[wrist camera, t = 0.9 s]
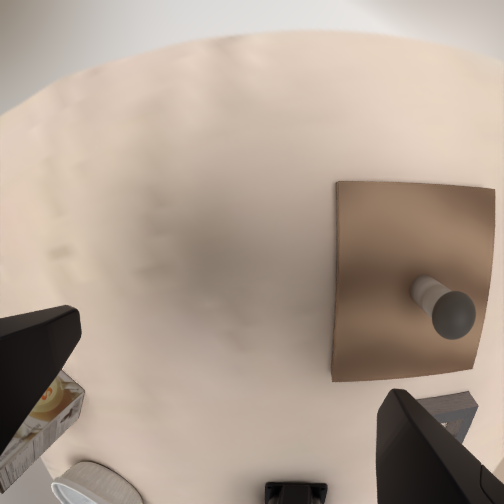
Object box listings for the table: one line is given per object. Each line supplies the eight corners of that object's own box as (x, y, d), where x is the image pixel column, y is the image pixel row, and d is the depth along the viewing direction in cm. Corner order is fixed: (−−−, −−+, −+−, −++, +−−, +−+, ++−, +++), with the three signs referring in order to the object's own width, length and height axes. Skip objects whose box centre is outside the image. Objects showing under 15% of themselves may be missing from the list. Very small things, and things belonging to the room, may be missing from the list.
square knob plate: (465, 360, 20) (507, 412, 12) (331, 371, 22) (337, 440, 14) (484, 189, 18) (550, 188, 10) (336, 182, 20) (354, 171, 12)
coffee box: (29, 373, 29) (-54, 429, 14) (32, 340, 28) (-67, 397, 12) (80, 419, 29) (2, 495, 13) (87, 390, 27) (-8, 474, 11)
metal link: (447, 444, 21) (454, 459, 19) (385, 454, 22) (389, 471, 20) (468, 391, 20) (478, 405, 18) (401, 401, 21) (408, 418, 19)
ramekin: (134, 470, 29) (110, 505, 22) (162, 519, 31) (145, 549, 24) (62, 443, 31) (36, 469, 24) (94, 495, 33) (75, 520, 26)
